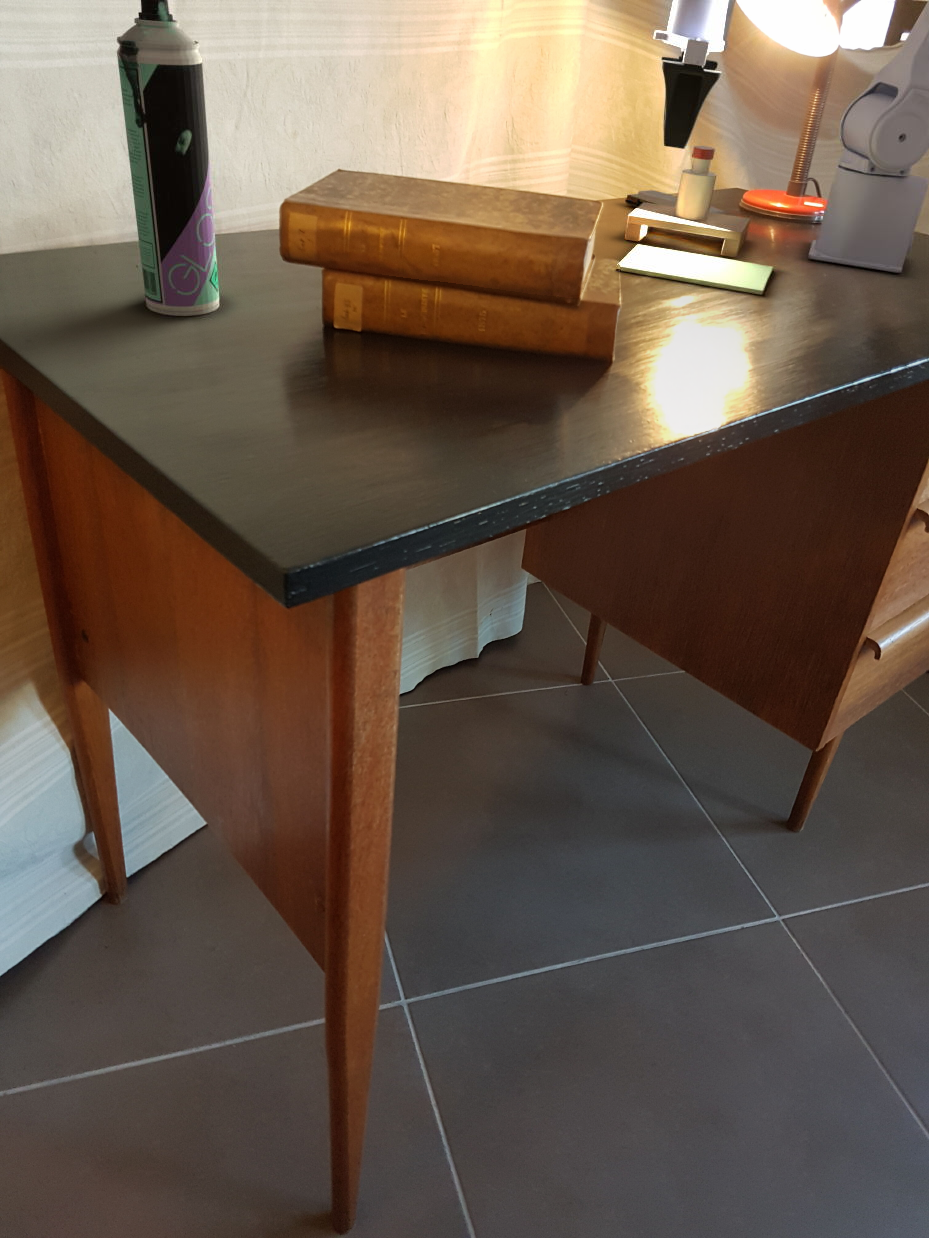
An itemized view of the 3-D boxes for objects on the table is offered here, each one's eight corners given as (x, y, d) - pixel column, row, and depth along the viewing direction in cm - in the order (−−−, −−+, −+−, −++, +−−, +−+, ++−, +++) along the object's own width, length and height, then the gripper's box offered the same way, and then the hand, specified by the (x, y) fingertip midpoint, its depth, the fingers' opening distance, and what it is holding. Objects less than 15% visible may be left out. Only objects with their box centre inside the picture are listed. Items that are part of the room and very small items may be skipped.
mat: (772, 270, 96) (773, 266, 96) (761, 295, 88) (763, 290, 88) (636, 248, 100) (637, 244, 100) (615, 269, 92) (616, 265, 92)
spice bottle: (709, 216, 104) (724, 147, 100) (704, 222, 101) (719, 152, 97) (677, 211, 105) (690, 143, 101) (671, 217, 102) (684, 147, 98)
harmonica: (624, 205, 117) (627, 188, 116) (641, 204, 119) (644, 186, 118) (714, 233, 108) (717, 215, 107) (731, 231, 110) (735, 213, 109)
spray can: (201, 320, 71) (174, 1, 60) (133, 310, 72) (93, -7, 60) (230, 299, 75) (211, 0, 64) (166, 290, 76) (135, -8, 65)
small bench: (745, 242, 106) (750, 218, 104) (736, 257, 100) (741, 232, 98) (639, 225, 109) (643, 202, 107) (624, 239, 103) (628, 215, 101)
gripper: (665, -24, 95) (636, 127, 103) (666, -25, 83) (632, 145, 91) (735, -14, 95) (701, 136, 102) (746, -14, 83) (706, 157, 90)
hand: (673, 142), depth 97 cm, fingers open, 7 cm apart
